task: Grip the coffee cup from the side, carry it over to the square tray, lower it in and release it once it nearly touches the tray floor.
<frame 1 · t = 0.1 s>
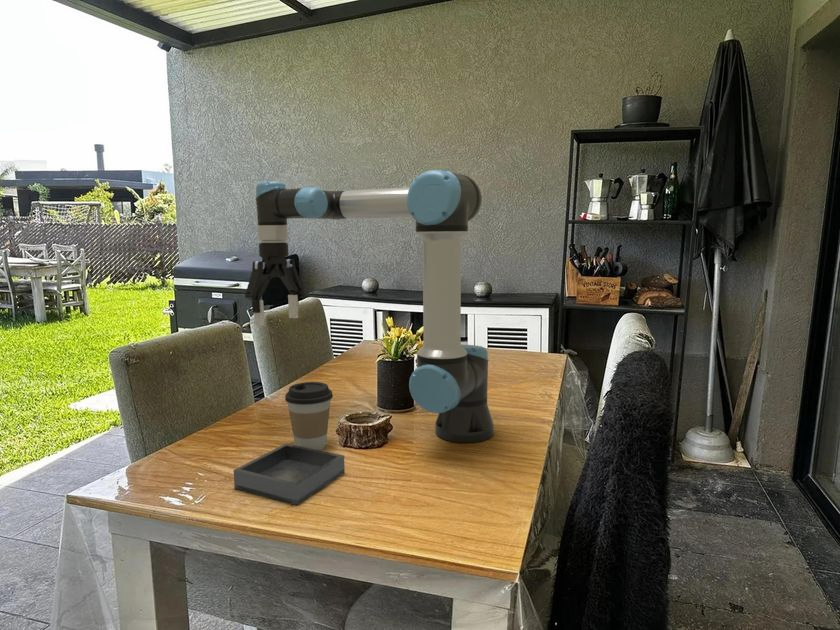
hand: (277, 321, 150), 28 cm above the table, tool pointing down, fingers open, 13 cm apart
square tray: (291, 480, 117), on the table
coffee cup: (311, 447, 135), on the table
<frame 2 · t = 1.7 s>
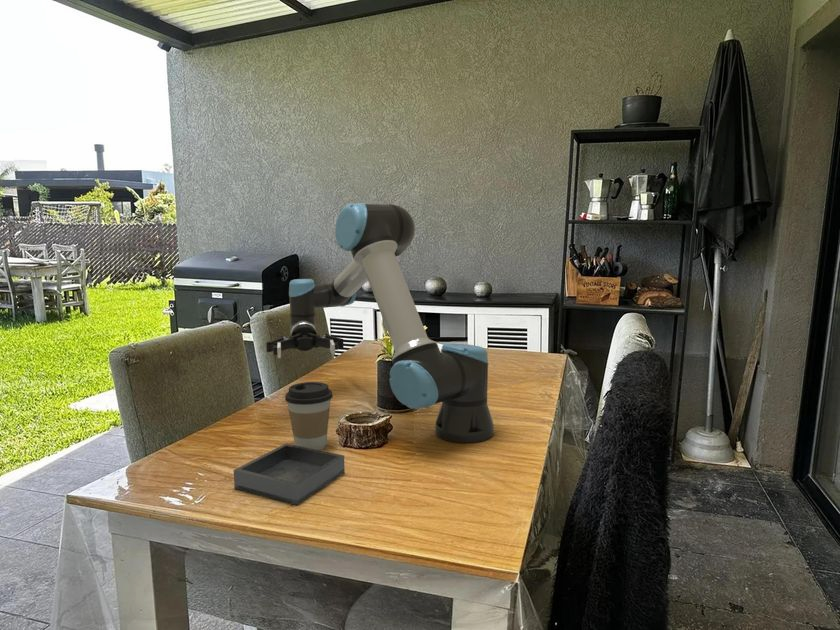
hand: (306, 351, 142), 22 cm above the table, tool horizontal, fingers open, 13 cm apart
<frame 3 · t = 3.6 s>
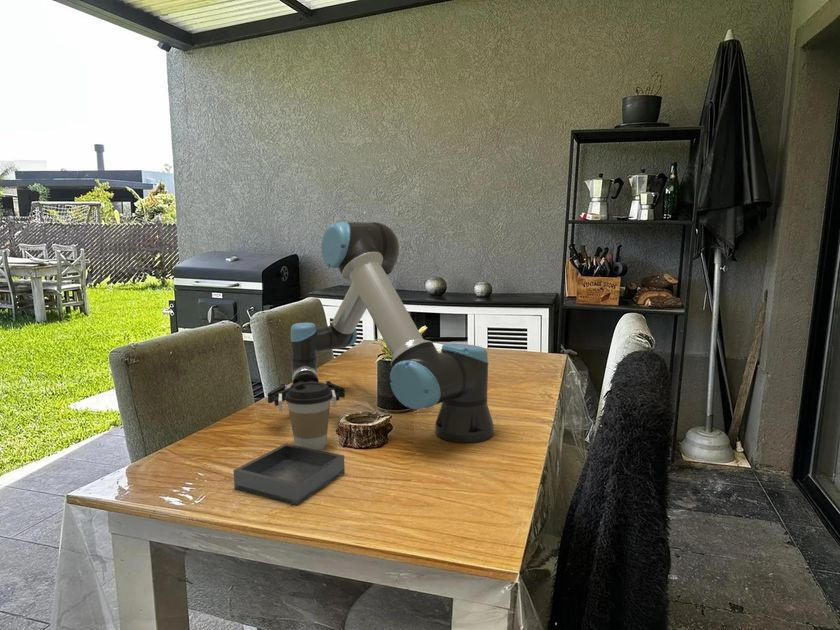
hand: (307, 404, 141), 8 cm above the table, tool horizontal, fingers open, 13 cm apart
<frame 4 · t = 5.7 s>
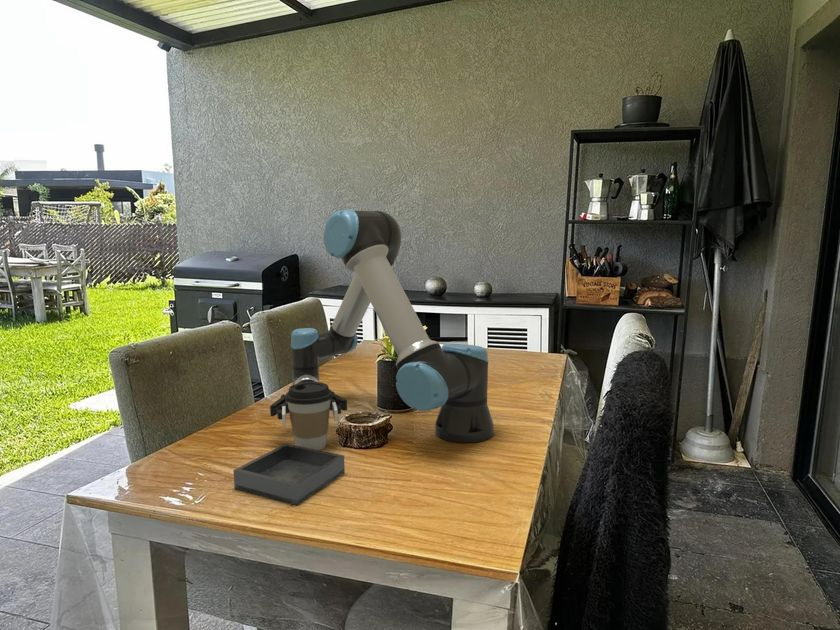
hand: (310, 418, 130), 9 cm above the table, tool horizontal, fingers closed on coffee cup, 11 cm apart
coffee cup: (311, 447, 135), on the table, touching gripper
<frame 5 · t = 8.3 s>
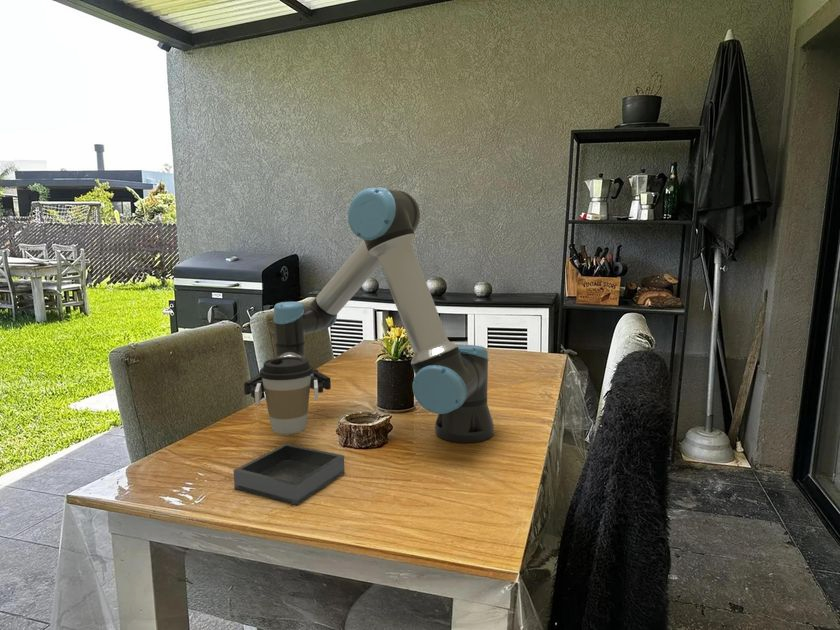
hand: (286, 396, 116), 18 cm above the table, tool horizontal, fingers closed on coffee cup, 11 cm apart
coffee cup: (289, 429, 121), point 9 cm above the table, touching gripper
when the fingers open (11 cm above the table, at t = 11.0 s): coffee cup drops 1 cm, resting on square tray.
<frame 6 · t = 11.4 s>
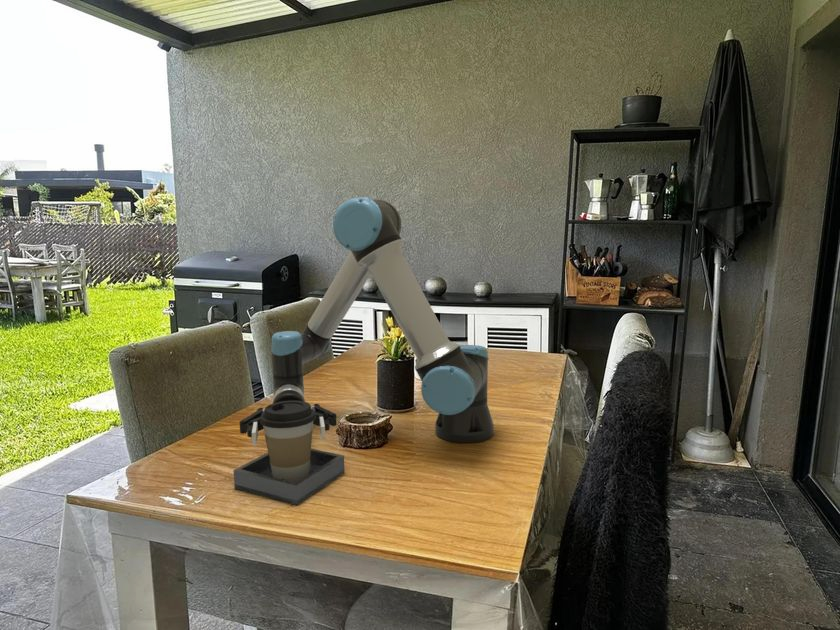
hand: (289, 436, 112), 11 cm above the table, tool horizontal, fingers open, 13 cm apart
coffee cup: (291, 476, 117), point 1 cm above the table, touching square tray
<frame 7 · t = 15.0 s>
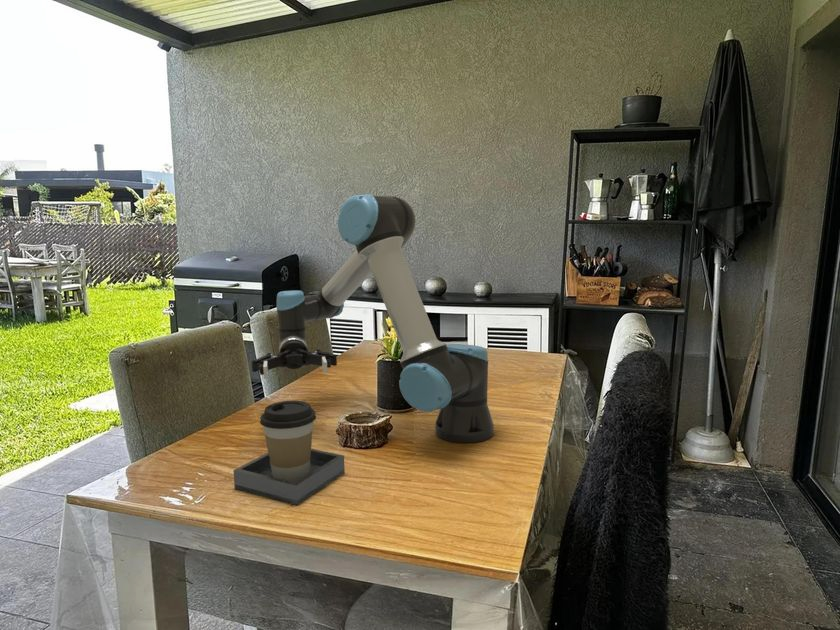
hand: (295, 370, 128), 20 cm above the table, tool horizontal, fingers open, 13 cm apart
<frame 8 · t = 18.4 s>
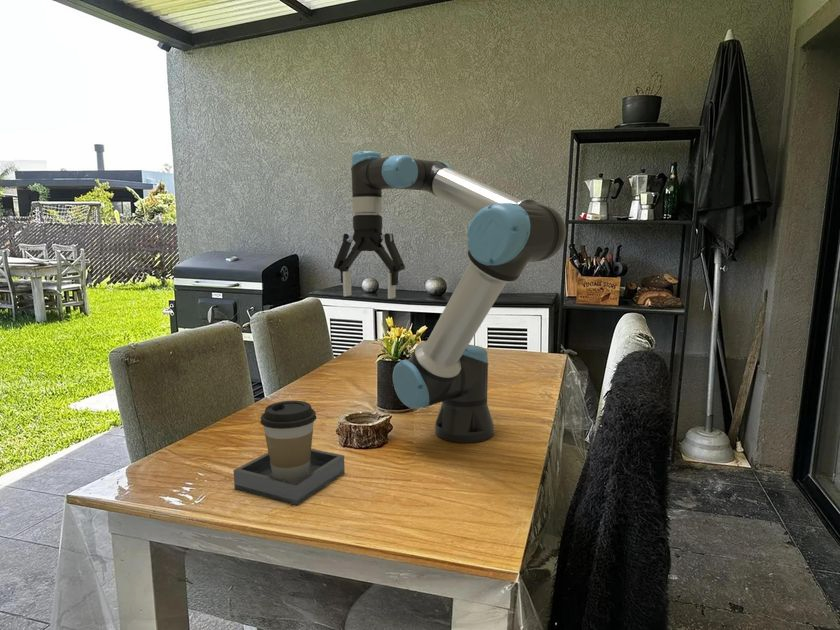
hand: (369, 297, 146), 35 cm above the table, tool pointing down, fingers open, 13 cm apart
at the end: coffee cup 0.1 cm off-centre on the square tray, point 0.8 cm above the square tray's base; coffee cup tilted 0°; the gripper is holding nothing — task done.
